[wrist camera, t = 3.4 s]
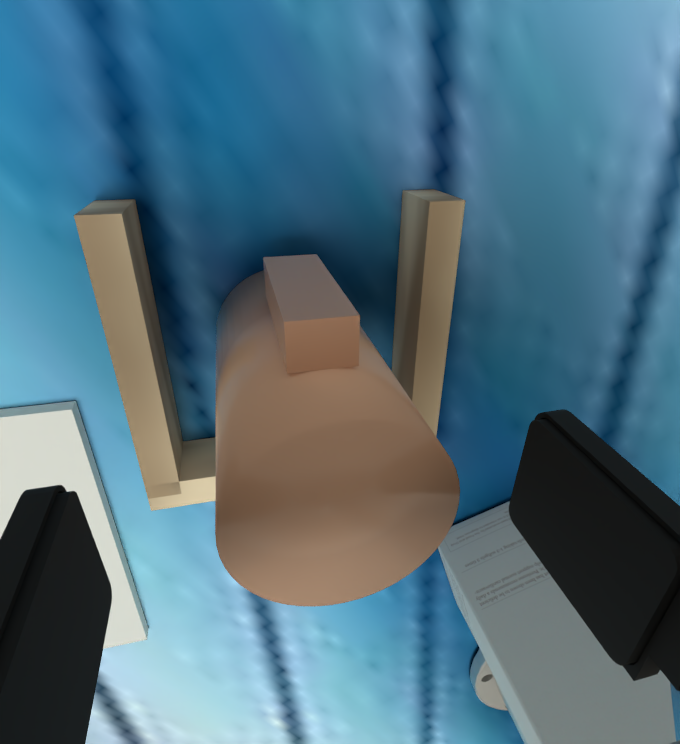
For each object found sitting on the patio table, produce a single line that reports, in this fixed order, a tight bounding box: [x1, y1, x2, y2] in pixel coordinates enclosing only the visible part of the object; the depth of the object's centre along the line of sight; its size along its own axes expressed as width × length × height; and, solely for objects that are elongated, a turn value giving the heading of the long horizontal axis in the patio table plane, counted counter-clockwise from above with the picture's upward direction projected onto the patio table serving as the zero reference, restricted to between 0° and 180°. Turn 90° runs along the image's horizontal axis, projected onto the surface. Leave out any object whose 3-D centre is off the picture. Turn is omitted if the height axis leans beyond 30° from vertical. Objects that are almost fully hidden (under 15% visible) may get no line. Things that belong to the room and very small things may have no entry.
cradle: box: [74, 189, 465, 511], centre depth 17 cm, size 11×11×2 cm
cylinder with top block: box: [215, 254, 460, 606], centre depth 14 cm, size 5×6×10 cm
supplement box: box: [438, 501, 676, 744], centre depth 23 cm, size 7×7×13 cm
